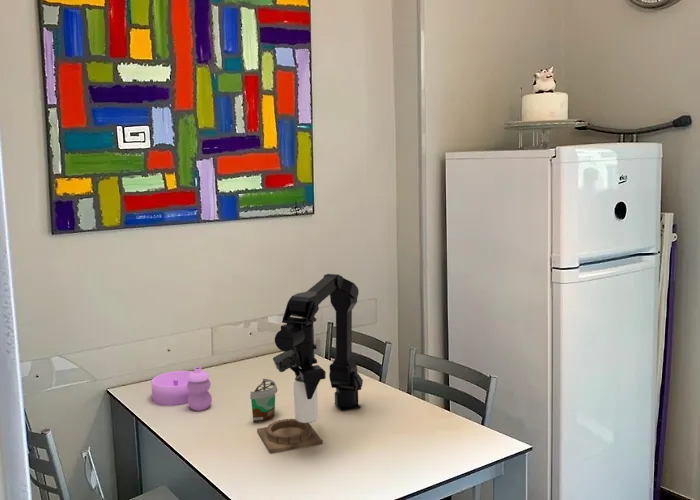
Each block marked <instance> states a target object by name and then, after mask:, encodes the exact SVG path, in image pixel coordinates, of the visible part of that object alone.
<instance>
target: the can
mask: <svg viewBox="0 0 700 500" xmlns="http://www.w3.org/2000/svg"><path fill="white" fill-rule="evenodd" d="M299 377H300V376H297V377H296V376H295V378H294V383H293V399H294V400H293V401H294V419H296V420H297V421H298V422H300V423H309V424H312V423H314V422H316V421H317V420H319V419H318V418H319V404H318V403H319V402H318V401H319V399H318V387H317V388H316V390H315V392H314V394H313V397H312V399H307V395H306V390H305V385H304V382H303V381H301V380H300V379H299Z"/></svg>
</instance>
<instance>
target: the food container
mask: <svg viewBox="0 0 700 500" xmlns="http://www.w3.org/2000/svg"><path fill="white" fill-rule="evenodd" d="M277 392H278V387H277V384H276V382H275V381H274V380H272V379H269V378H262V382H261V383H260V384H259V385H258V386H256V387H255V389H254V391H250V393H249V394H250V396H249V397H250V398H249V399H250V400H251V403H250V404H251V413H252V421H253V423H256V424H257V423H264V422H268V421H271V420H273V418H275V416H276V415H275V414H276V413H275V412H276V393H277Z"/></svg>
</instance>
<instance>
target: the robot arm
mask: <svg viewBox="0 0 700 500" xmlns="http://www.w3.org/2000/svg"><path fill="white" fill-rule="evenodd" d="M358 296H359V288H358V286H357V285H356V284H355V282H353V281H350V280H348V279H346V278H345V277H344V276H342V275H340V274H337V273H336V274H335V273H327V274H324V275H323V277H322V278H321V279H320V280H319V281H318V282H316V283H315V284H314V285H312V287H310V288H309V289H308V290H306V291H303V292H298V293H296V294H295V293H294V295H292V296H290V298H289V300H288V301H287V304H286V308H285V309H284V310H285V311H284V313H283V317H282V321H281V322H282V325H280V330H279V331H277V333H276V334H275V337H274V343H275V346H276V347H277V348H278V350H280V351H281V352H282V353H279V354H277V355H275V356H274V357H272V360H273V362H274V365H275V368H276V369H277V370H278V372H279V373H284V372H285V371H287V370H288V369H290V370H292V372H294V375H295V378H296V377H297V376H300V377H299V379H300V380H301V381H303V382H304V385H305V390H306V395H307V399H312V397H313V394H314V392H315V390H316V388H317V389H318V386H319V383H320V382H321V381H322V380H326V378H327V376H326V371H325V370H324V368H322V367H321V366H320V365H319V364H317V363H318V359H316V357H315V355H316V354H315V350H317V345H316V343H315V336H314V335H315V334H314V333H315V332H314V331H315V329H314V323H315V322H317V320H318V319H317V318H316V317H315V316H316V314H317V313H318V311H319V310H320V308H319V305H320V304H321V303H322V302H323V301H324V300H325V299H327V298H328V297H329V300H330V304H331V306H332V307H333V309H334V310H335V358H334V360H333V361H332V363H330V365H329V374H328V376H329V382H330V387H331V388H332V389H335V392H334V405H335V406H336V407H337V408H338V409H339V411H342V412H344V411H348V410H354V409H360V408H361V405H360V404H359V391H361V390H362V387H363V378H362V376H361V375H360V374H359V373H358V365H357V363H356V361H355V360H354V358H353V354H352V349H353V348H352V347H353V346H352V345H353V343H352V342H353V341H352V339H353V338H352V336H353V335H352V333H353V332H352V331H353V325H352V323H353V322H352V321H353V319H352V317H353V312H352V311H353V309H354V308H355V306H356V305H357V304H358V303H357V302H358Z"/></svg>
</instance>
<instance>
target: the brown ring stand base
mask: <svg viewBox="0 0 700 500" xmlns="http://www.w3.org/2000/svg"><path fill="white" fill-rule="evenodd" d="M256 432H257V434H258V436H259V437H260V439H261V441H262V443H263V445H264V446H265V448H266V450H267V452H268V453H269V454H275V453H281V452H285V451H291V450H296V449H302V448H307V447H312V446H313V447H314V446H319V445H323V442H324V441H323V439H322V438H321V437H320V435H319V434H318V433H317V431H316V430H315V429H314V428H313V426H312V425H311V423H300V422H298V421H297V420H296V419H295V418H284V419H278V420H275V421H273V422H271V423H269V424H268V425H267V426H264V427H259V428H257V429H256Z"/></svg>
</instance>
